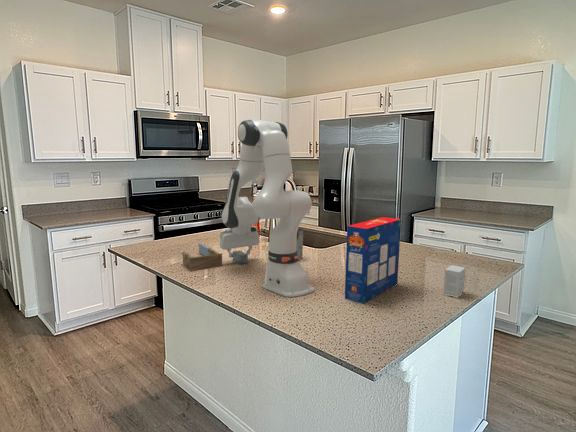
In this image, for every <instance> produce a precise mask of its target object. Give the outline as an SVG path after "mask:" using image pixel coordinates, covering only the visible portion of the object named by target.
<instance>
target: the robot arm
mask: <svg viewBox="0 0 576 432" xmlns="http://www.w3.org/2000/svg"><path fill="white" fill-rule="evenodd" d="M237 137H238V140H239V142H240V143H241V147H240V154H239V163H238V165H237V167H236V170H235V171H233V172H232V174H231V175H230V180H229V184H228V188H227V194H226V198H225V202H224V207H223V209H222V212H221V216H220V217H221V222H222V224H223V225H224V226H225V227H226V228H229V229H223V230H222V231H221V232H220V233H219V238H220V239H219V248H220V249H222V250H223V251H224V250H226V251H227V253H228V257H229V258H233V252H231V251H232V249H238V248H246V247H247V250H246V251H245V252H246V254H248V256H249V255H251V251H252V250H253V247H254V246H258V245H259V243H260V236H259V235H260V234H259V232H258V231H259V228H258V227H257V226H255V225H257V224H258V223H259V222H260V220H261V219H264V220H276V219H279V220H278V223H277V225H276V226H274V227H273V228H272V229H271V230H270V232H269V246H268V247H269V250H268V252H267V259H268V264H267V265H266V266H265V272H264V273H265V276H264V283H262V288H263V289H265V290H268V291H270V292H273V293H276V294H278V295H281V296H284V297H285V298H293V297H301V296H304V295H309V294H311V293H313V292H314V291H316V289H315V287H314V286H313V285H311V284H310V282H309V273H308V271H307V270H305V269H304V268H303V266H302V265H301V262H300V260H299V258H298V257H299V256H298V254H297V251H296V239H297V231H298V228H300V224H301V223H302V221H303V219H304V217H306V215H307V214H308V213H310V211H311V209H312V204H313V203H312V202H313V201H312V198H311V196H310V194H309V193H308V192H306V191H302V190H298V189H293V190H290V189H289V190H284V185H285V183H286V182H287V181H288V180H289V179H291V177H292V175H293V167H292V166H293V165H292V159H291V151H290V147H289V142H288V128H287V127H286V125H285V124H284V123H281V122H278V121H268V120H264V119H253V120H252V119H245V120H242V121H241V122H240V123H239V125H238V127H237ZM263 172H264V183H263V186H262V188H261V190H260V192H259V193H258V194H257V195H255V197H254V199H253V202H252V203H251V202H250V200H249V197H248V196H246V195H240V191H241V189H242V187H244V186H245V185H247V184H248V183H250V182H253V181H254V180H257V179H258V178H259V177H261V176H262V174H263ZM298 260H299V261H298Z"/></svg>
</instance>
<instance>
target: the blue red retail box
mask: <svg viewBox="0 0 576 432" xmlns="http://www.w3.org/2000/svg"><path fill="white" fill-rule="evenodd" d="M401 226H402V219H401V218H396V217H395V218H394V217H386V216H382V217H378V218H377V217H376V218H373V219H369V220H366V221H362V222H361V221H360V222H358V223H354V224H350V225H347V227H346V250H345V251H346V253H345V254H346V255H345V280H344V281H345V282H344V285H345V286H344V299H346V300H349V301H352V302H355V303H358V304H361V305H362V304H363V305H364V304H366V303H368V302H369V300H370V301H372V300H374V299H375V298H376V296H377V297H378V296H380V295H382V294H384V293H385V292H387V291H389V290H391V289H393V288H394V287H396V286H397V285H398V278H399V261H400V244H401V243H400V242H401ZM396 284H397V285H396ZM395 285H396V286H395ZM393 286H394V287H393ZM392 287H393V288H392ZM390 288H391V289H390ZM388 289H389V290H388ZM386 290H387V291H386ZM383 292H384V293H383ZM381 293H382V294H381ZM374 297H375V298H374Z"/></svg>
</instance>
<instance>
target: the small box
mask: <svg viewBox="0 0 576 432" xmlns="http://www.w3.org/2000/svg"><path fill="white" fill-rule="evenodd" d="M465 276H466V267H463V266H460V265H459V266H458V265H453V264H450V266H448V267H447V268H446V269H445V270H444V282H443V293H444V294H449V295H454V296H459V295H460V294H461V293H462V292H463V293H464V289H465V278H466V277H465ZM443 293H442V294H443ZM463 293H462V294H463ZM462 294H461V295H462ZM461 295H460V296H461ZM460 296H459V297H460Z"/></svg>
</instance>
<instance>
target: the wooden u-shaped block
mask: <svg viewBox="0 0 576 432" xmlns="http://www.w3.org/2000/svg"><path fill="white" fill-rule="evenodd" d="M209 248H210V249H208V255H206V256H204V255H202V256H194V257H193V256H192V255H191V254H189V253H187V252H186V251H182V264H183V265H184V266H185V267H186V268H188V270H189V271H190V272H193V271H194V272H195V271H201V270H205V269H213V268H218V267H223V253H220V252H218V251H216V250H214V249H213V248H212V247H209Z"/></svg>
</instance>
